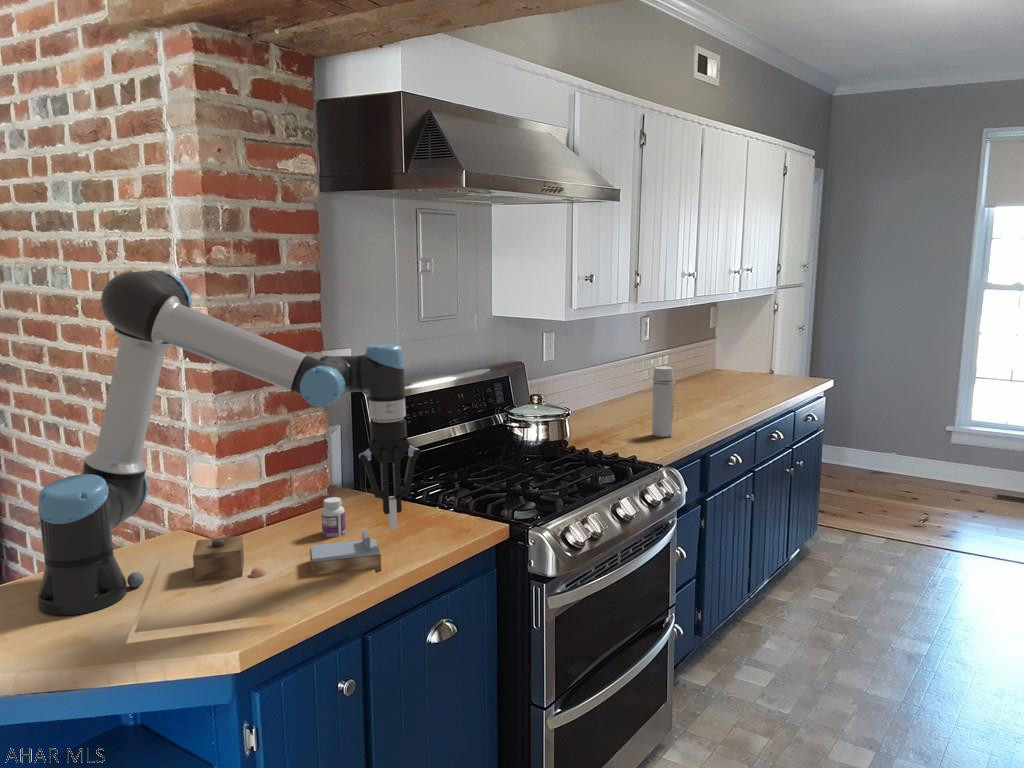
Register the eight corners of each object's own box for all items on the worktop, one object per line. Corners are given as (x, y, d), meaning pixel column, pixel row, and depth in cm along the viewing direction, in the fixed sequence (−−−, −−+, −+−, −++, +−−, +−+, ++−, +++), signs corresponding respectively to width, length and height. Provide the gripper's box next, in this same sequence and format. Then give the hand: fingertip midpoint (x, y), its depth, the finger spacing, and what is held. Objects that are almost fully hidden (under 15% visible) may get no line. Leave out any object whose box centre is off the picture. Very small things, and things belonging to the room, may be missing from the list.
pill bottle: (336, 533, 189) (334, 494, 188) (350, 538, 186) (348, 498, 184) (317, 540, 185) (315, 500, 184) (332, 544, 182) (330, 504, 180)
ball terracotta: (250, 585, 160) (249, 571, 159) (251, 579, 162) (250, 565, 162) (266, 583, 160) (265, 569, 160) (266, 577, 163) (265, 563, 163)
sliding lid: (312, 562, 161) (311, 547, 160) (310, 548, 168) (310, 534, 167) (379, 554, 164) (379, 540, 164) (375, 541, 172) (374, 528, 171)
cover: (195, 588, 158) (192, 550, 157) (199, 572, 167) (196, 535, 165) (242, 583, 161) (240, 545, 159) (244, 566, 169) (242, 531, 168)
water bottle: (651, 437, 286) (653, 369, 282) (651, 433, 293) (652, 366, 289) (677, 438, 284) (679, 369, 280) (677, 433, 292) (678, 366, 288)
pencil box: (312, 581, 161) (311, 562, 160) (310, 567, 169) (309, 549, 168) (381, 573, 165) (380, 555, 164) (376, 559, 172) (376, 542, 172)
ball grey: (122, 581, 157) (135, 571, 158) (125, 576, 160) (137, 567, 161) (133, 592, 158) (145, 582, 158) (136, 587, 161) (148, 577, 161)
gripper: (358, 424, 159) (364, 537, 163) (422, 419, 163) (426, 529, 166) (354, 418, 166) (360, 525, 170) (416, 413, 170) (420, 518, 174)
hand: (393, 527), depth 168 cm, fingers closed
